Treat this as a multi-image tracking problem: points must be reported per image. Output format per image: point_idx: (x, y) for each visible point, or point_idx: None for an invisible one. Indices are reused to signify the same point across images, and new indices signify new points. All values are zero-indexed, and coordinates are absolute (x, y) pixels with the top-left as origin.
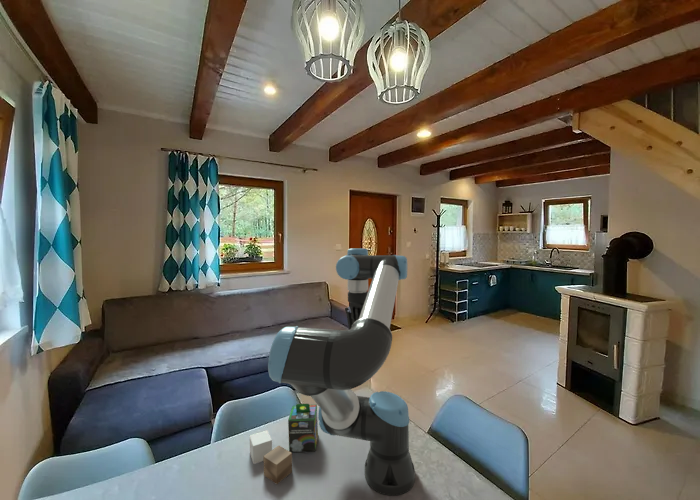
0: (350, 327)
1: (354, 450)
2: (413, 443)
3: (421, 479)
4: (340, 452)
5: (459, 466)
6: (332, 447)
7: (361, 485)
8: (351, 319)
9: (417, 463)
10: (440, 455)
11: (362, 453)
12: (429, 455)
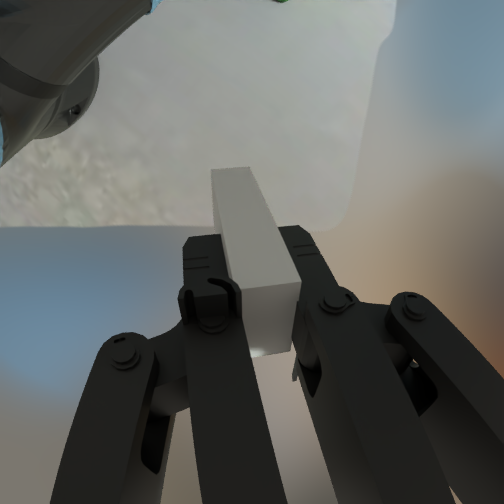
0: (456, 383)
1: (157, 45)
2: (96, 187)
3: None
4: (175, 11)
5: (13, 219)
6: (206, 4)
7: None
8: (497, 489)
9: (44, 154)
10: (45, 210)
11: (134, 57)
12: (52, 191)
